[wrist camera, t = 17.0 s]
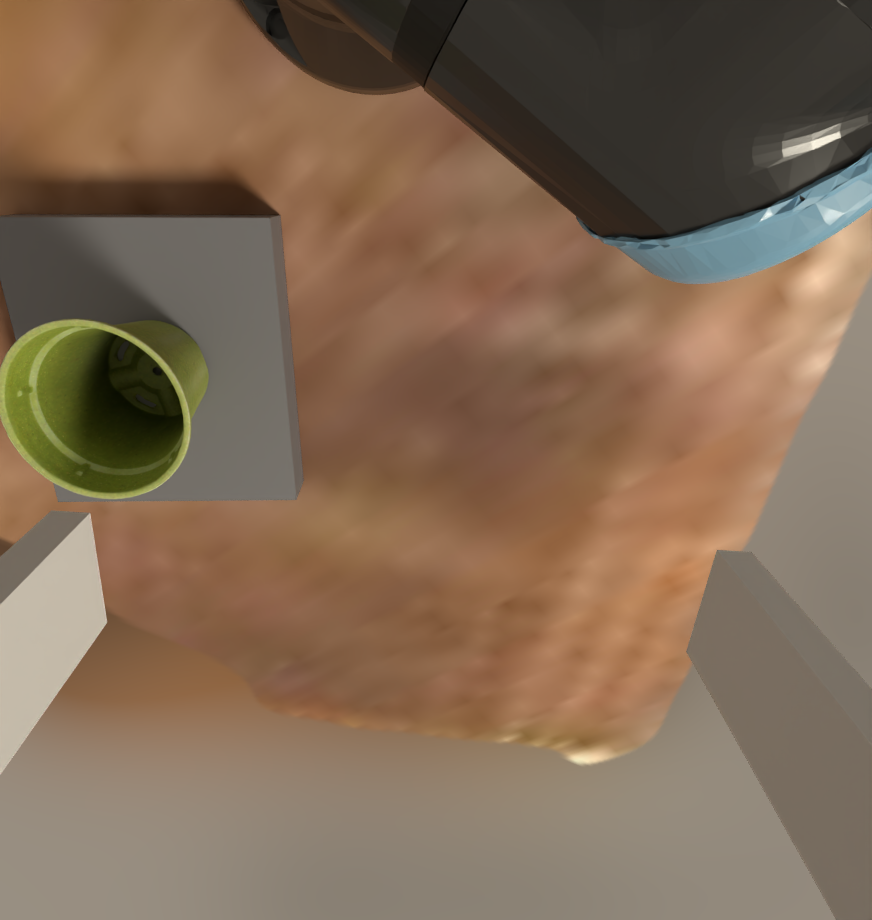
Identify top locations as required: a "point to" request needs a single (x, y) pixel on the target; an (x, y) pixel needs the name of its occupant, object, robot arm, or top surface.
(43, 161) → the top surface
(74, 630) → the robot arm
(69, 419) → the plant pot
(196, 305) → the board
